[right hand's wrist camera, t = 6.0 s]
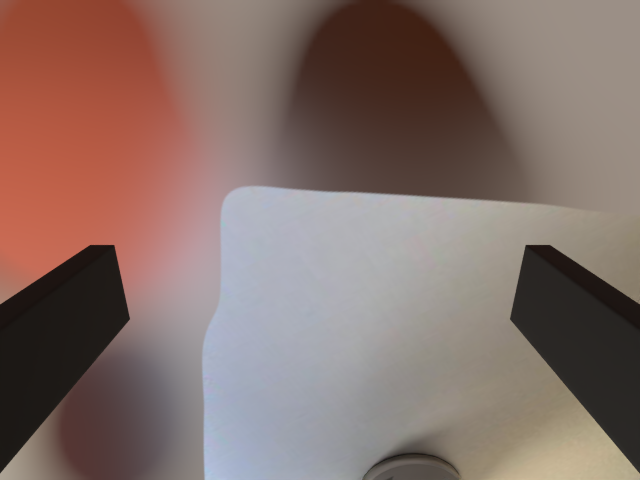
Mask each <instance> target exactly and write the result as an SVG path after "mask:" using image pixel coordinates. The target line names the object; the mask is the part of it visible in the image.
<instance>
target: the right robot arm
mask: <svg viewBox="0 0 640 480" xmlns="http://www.w3.org/2000/svg"><path fill="white" fill-rule="evenodd" d="M129 320H130V317H129V313H128V308H127V303H126V298H125V294H124V289H123V284H122V279H121V275H120V270H119V265H118V261H117V256H116V251H115V246H114V245H90V246H88V247H87V248H85V249H84V250H82V251H81V252H79V253H78V254H76V255H74V256H73V257H71V258H70V259H68V260H67V261H65V262H64V263H62V264H61V265H59V266H58V267H56V268H55V269H53V270H52V271H50V272H49V273H47V274H46V275H44V276H43V277H41V278H40V279H38V280H37V281H35V282H34V283H32V284H31V285H29V286H28V287H26V288H25V289H23V290H21V291H20V292H18V293H17V294H15V295H14V296H12V297H11V298H9V299H8V300H6V301H5V302H3V303H2V304H0V473H1V472H2V471H3V469H4V468H5V467H6V466H7V465H8V463H9V462H10V461H11V460H12V459H13V457H14V456H15V455H16V454H17V453H18V451H19V450H20V449H21V448H22V447H23V445H24V444H25V443H26V442H27V441H28V440H29V438H30V437H31V436H32V435H33V434H34V433H35V431H36V430H37V429H38V428H39V427H40V425H41V424H42V423H43V422H44V421H45V419H46V418H47V417H48V416H49V415H50V414H51V412H52V411H53V410H54V409H55V408H56V406H57V405H58V404H59V403H60V402H61V400H62V399H63V398H64V397H65V396H66V395H67V393H68V392H69V391H70V390H71V389H72V387H73V386H74V385H75V384H76V383H77V381H78V380H79V379H80V378H81V377H82V375H83V374H84V373H85V372H86V371H87V369H88V368H89V367H90V366H91V365H92V363H93V362H94V361H95V360H96V359H97V358H98V356H99V355H100V354H101V353H102V352H103V351H104V349H105V348H106V347H107V346H108V345H109V343H110V342H111V341H112V340H113V339H114V337H115V336H116V335H117V334H118V333H119V332H120V330H121V329H122V328H123V327H124V326H125V324H126V323H127V322H128V321H129ZM510 320H511V321H512V322H513V323H514V324H515V326H516V327H517V328H518V329H519V330H520V332H521V333H522V334H523V335H524V336H525V337H526V339H527V340H528V341H529V342H530V343H531V345H532V346H533V347H534V348H535V349H536V351H537V352H538V353H539V354H540V355H541V356H542V358H543V359H544V360H545V361H546V362H547V364H548V365H549V366H550V367H551V368H552V370H553V371H554V372H555V373H556V374H557V376H558V377H559V378H560V379H561V380H562V381H563V383H564V384H565V385H566V386H567V387H568V389H569V390H570V391H571V392H572V393H573V395H574V396H575V397H576V398H577V399H578V400H579V402H580V403H581V404H582V405H583V406H584V408H585V409H586V410H587V411H588V412H589V414H590V415H591V416H592V417H593V418H594V419H595V421H596V422H597V423H598V424H599V425H600V427H601V428H602V429H603V430H604V431H605V433H606V434H607V435H608V436H609V437H610V438H611V440H612V441H613V442H614V443H615V444H616V446H617V447H618V448H619V449H620V450H621V452H622V453H623V454H624V455H625V456H626V457H627V459H628V460H629V461H630V462H631V463H632V465H633V466H634V467H635V468H636V469H637V471H638V472H639V473H640V304H638V303H637V302H635V301H634V300H632V299H631V298H629V297H628V296H626V295H625V294H623V293H622V292H620V291H619V290H617V289H616V288H614V287H612V286H611V285H609V284H608V283H606V282H605V281H603V280H602V279H600V278H599V277H597V276H596V275H594V274H593V273H591V272H590V271H588V270H587V269H585V268H584V267H582V266H581V265H579V264H578V263H576V262H575V261H573V260H572V259H570V258H569V257H567V256H566V255H564V254H563V253H561V252H559V251H558V250H556V249H555V248H553V247H552V246H550V245H526V246H525V251H524V256H523V261H522V265H521V270H520V275H519V279H518V284H517V289H516V294H515V298H514V303H513V308H512V312H511V317H510ZM362 480H461V478H460V476H459V474H458V473H457V471H456V470H455V469H454V468H453V467H452V466H451V465H450V464H448V463H447V462H445V461H443V460H441V459H439V458H436V457H432V456H428V455H421V454H409V455H401V456H397V457H393V458H390V459H387V460H385V461H383V462H381V463H379V464H377V465H376V466H374V467H373V468H372V469H371V470H370V471H368V473H367V474H366V475H365V476H364V478H363V479H362Z"/></svg>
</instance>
